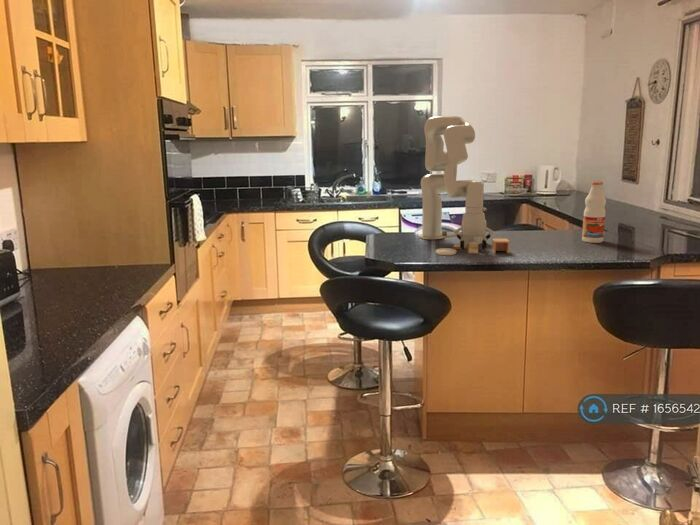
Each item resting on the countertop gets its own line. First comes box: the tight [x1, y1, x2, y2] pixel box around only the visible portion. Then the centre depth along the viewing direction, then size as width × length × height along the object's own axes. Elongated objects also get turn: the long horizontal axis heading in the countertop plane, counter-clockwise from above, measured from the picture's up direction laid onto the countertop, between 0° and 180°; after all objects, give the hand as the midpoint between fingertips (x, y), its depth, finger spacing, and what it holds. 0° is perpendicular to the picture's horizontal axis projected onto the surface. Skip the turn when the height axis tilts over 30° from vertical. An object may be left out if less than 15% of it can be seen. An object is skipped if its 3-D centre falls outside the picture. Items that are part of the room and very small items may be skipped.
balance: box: [440, 230, 468, 250], centre depth 266 cm, size 5×20×9 cm, turn 86°
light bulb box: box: [464, 219, 487, 245], centre depth 274 cm, size 11×7×11 cm, turn 135°
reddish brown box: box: [491, 238, 510, 255], centre depth 256 cm, size 6×6×5 cm
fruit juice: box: [581, 181, 607, 244], centre depth 272 cm, size 9×9×28 cm
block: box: [467, 243, 479, 254], centre depth 257 cm, size 4×4×4 cm
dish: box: [435, 247, 457, 256], centre depth 256 cm, size 9×9×1 cm
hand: (473, 249), depth 257 cm, fingers open, 8 cm apart
